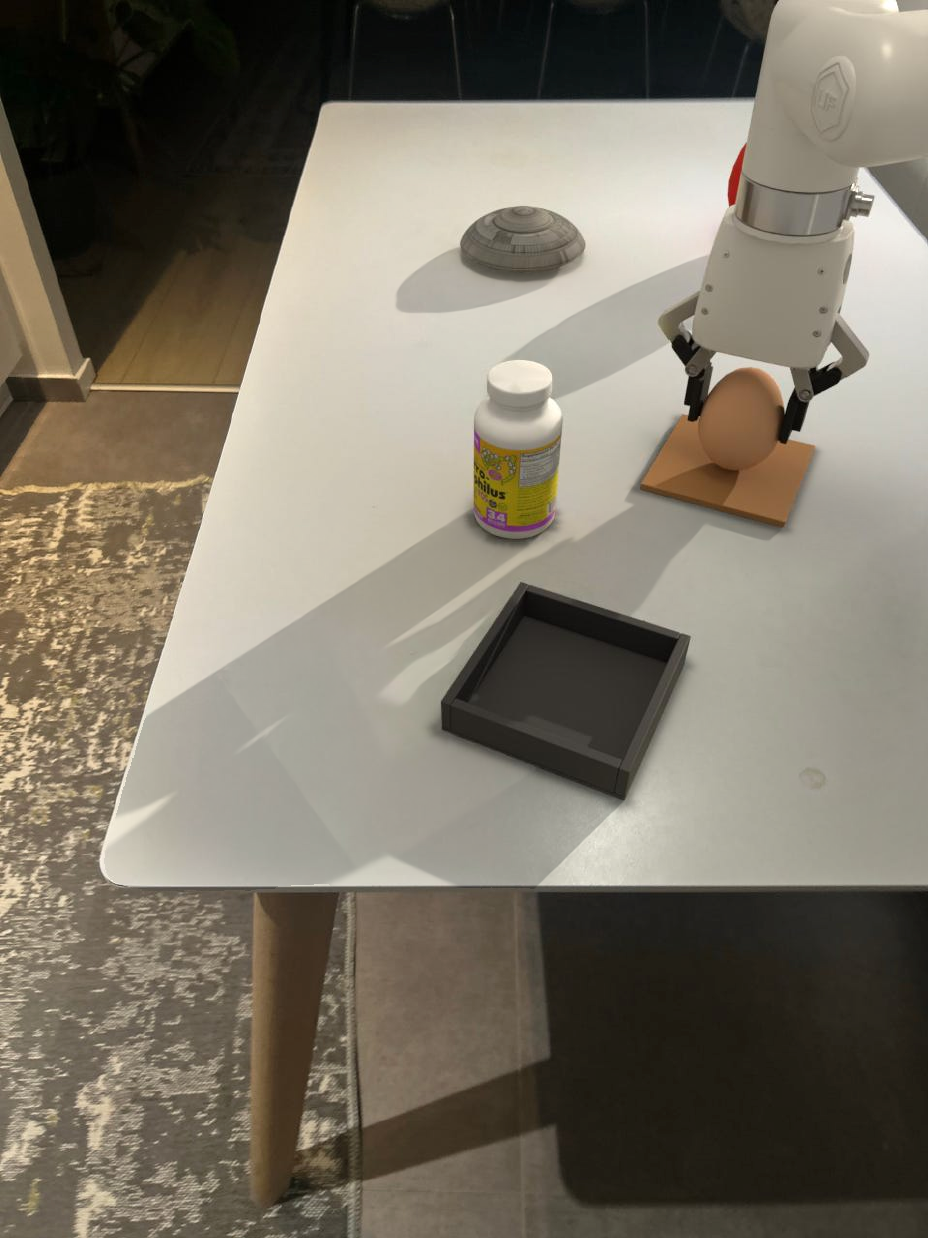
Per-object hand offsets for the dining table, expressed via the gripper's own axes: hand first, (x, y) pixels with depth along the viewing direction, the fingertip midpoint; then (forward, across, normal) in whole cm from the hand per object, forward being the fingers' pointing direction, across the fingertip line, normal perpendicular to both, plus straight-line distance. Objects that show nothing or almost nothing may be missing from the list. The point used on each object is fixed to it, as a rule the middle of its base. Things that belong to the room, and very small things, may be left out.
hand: (740, 422), depth 76 cm
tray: (+5, +3, +30) cm, 30 cm away
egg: (+4, 0, 0) cm, 4 cm away
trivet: (+5, 0, 0) cm, 5 cm away
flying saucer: (+5, +34, -33) cm, 48 cm away
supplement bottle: (+5, +14, +14) cm, 20 cm away
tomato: (+5, +8, -48) cm, 49 cm away
